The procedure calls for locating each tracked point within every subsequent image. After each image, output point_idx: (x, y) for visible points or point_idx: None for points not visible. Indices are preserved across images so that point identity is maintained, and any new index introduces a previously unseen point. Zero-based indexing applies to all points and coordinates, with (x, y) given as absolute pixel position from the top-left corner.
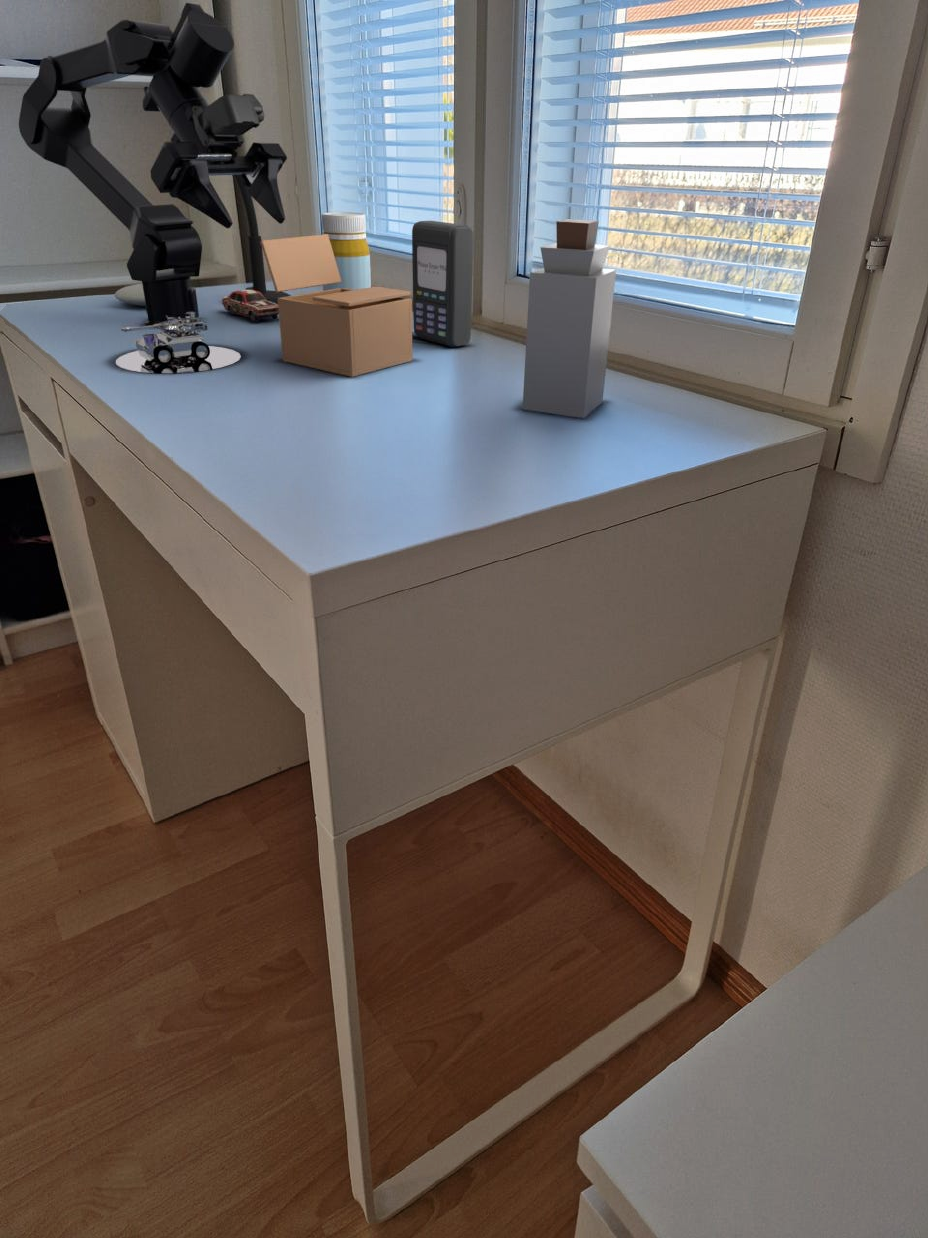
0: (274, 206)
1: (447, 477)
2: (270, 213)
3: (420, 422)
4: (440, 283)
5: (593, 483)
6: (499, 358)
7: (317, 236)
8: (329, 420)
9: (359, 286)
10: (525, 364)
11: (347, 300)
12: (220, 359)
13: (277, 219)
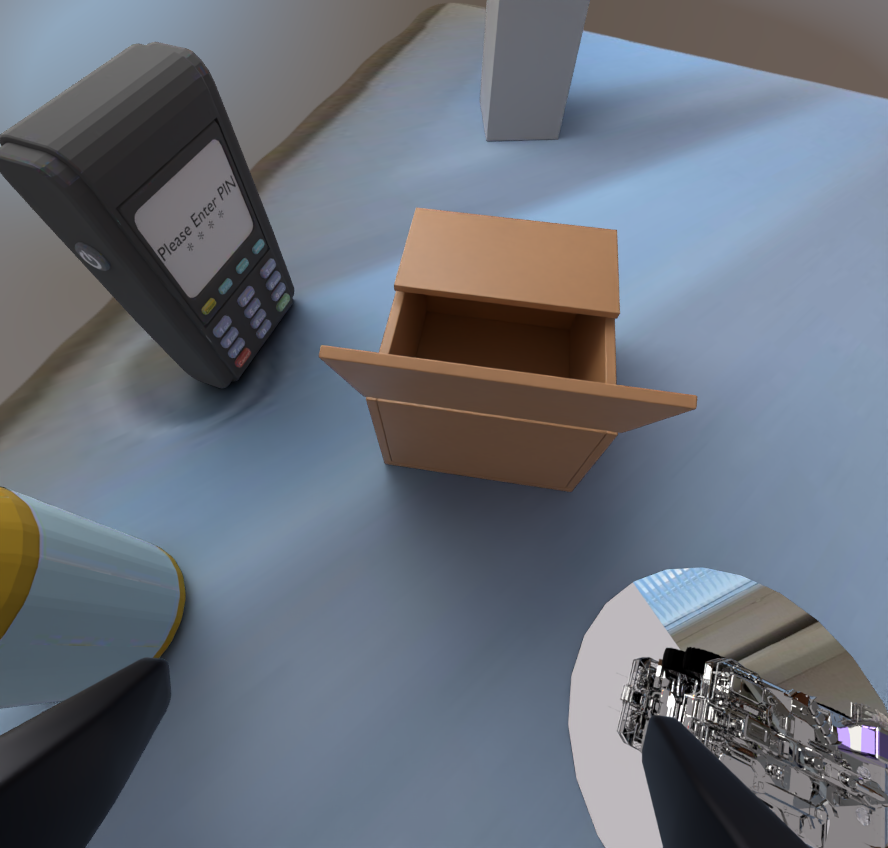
0: (69, 779)
1: (776, 123)
2: (88, 833)
3: (677, 186)
4: (238, 227)
5: (694, 64)
6: (332, 227)
7: (386, 354)
8: (756, 253)
9: (91, 521)
10: (570, 81)
11: (598, 242)
12: (661, 625)
13: (150, 727)
